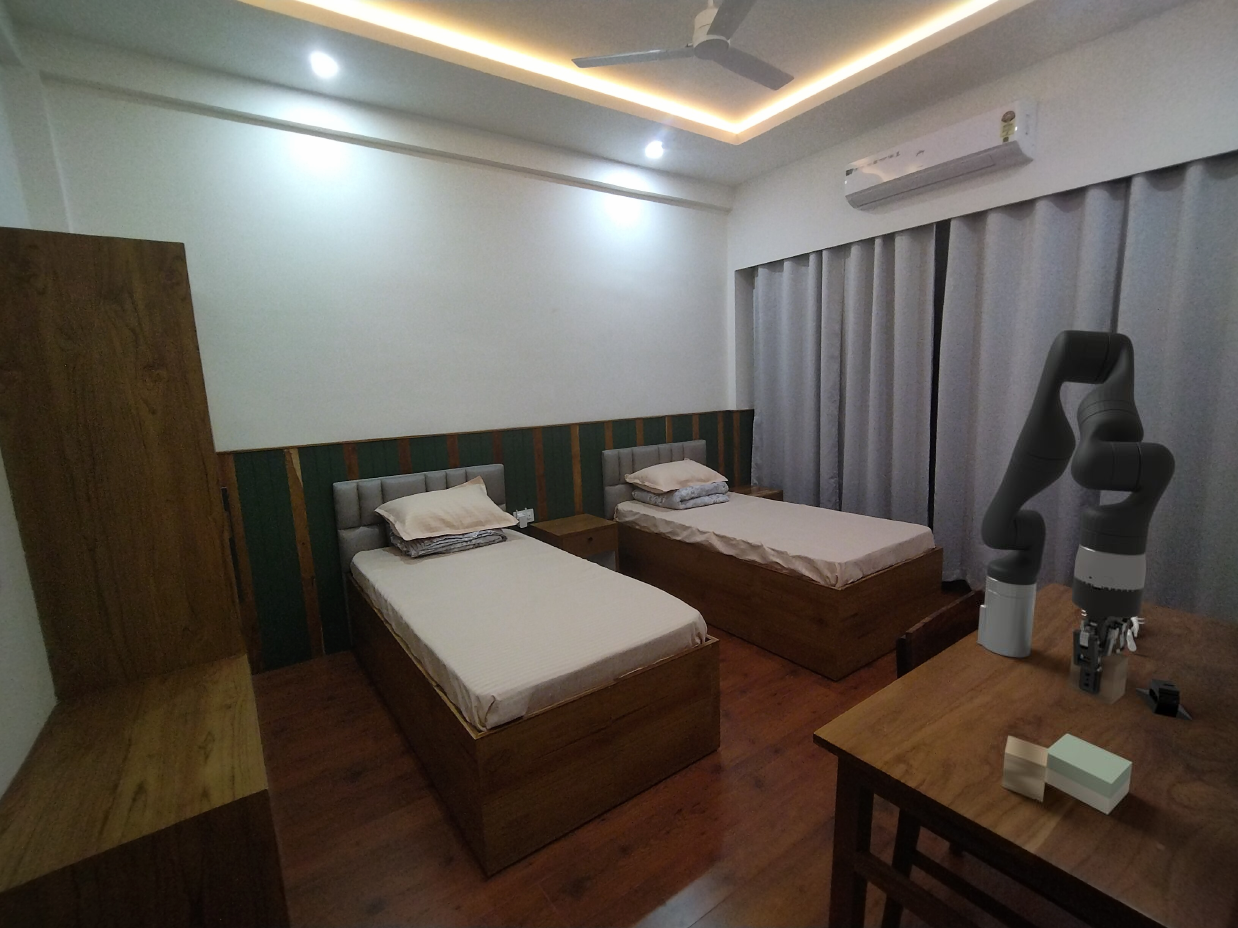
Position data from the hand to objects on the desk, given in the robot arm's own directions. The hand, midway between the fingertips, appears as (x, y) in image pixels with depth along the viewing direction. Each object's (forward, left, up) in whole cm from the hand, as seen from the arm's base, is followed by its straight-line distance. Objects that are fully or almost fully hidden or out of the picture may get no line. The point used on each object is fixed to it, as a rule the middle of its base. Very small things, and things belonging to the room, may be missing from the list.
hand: (1096, 685), depth 79 cm
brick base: (0, 0, -17) cm, 17 cm away
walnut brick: (0, 0, -1) cm, 1 cm away
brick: (-5, -7, -17) cm, 19 cm away
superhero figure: (-17, +68, -18) cm, 72 cm away
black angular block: (-1, +38, -18) cm, 42 cm away
